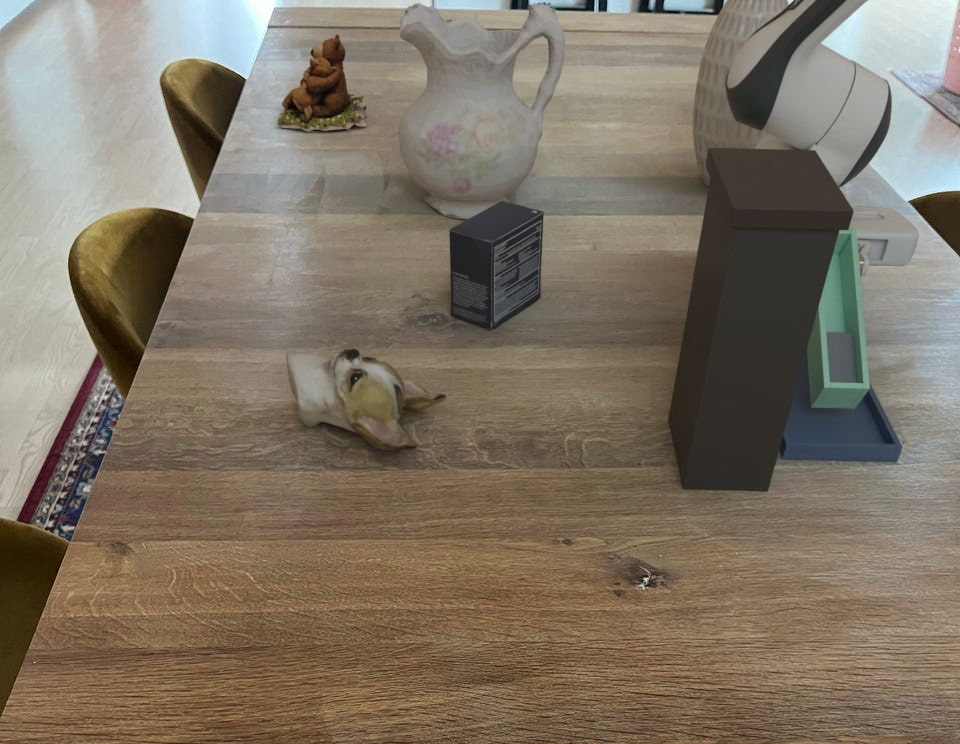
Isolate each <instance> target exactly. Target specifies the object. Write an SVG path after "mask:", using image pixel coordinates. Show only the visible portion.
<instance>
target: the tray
mask: <svg viewBox="0 0 960 744" xmlns="http://www.w3.org/2000/svg"><path fill="white" fill-rule="evenodd" d="M869 383H870V389H869V390H868V392H867V393H866V394H865V396H864V397H863V398H862V400H861V401H860V402H859V404H858V405H857V406H856V408H855V409H846V408H811V402H810V387H809V372H808V357H807V351H806V354H805V358H804V361H803V365H802V369H801V372H800V376H799V380H798V383H797V387H796V391H795V394H794V398H793V402H792V405H791V409H790V413H789V416H788V420H787V424H786V427H785V431H784V435H783V438H782V442H781V445H780V449H779V453H780V456H781V458H782V460H812V461H813V460H814V461H847V462H848V461H850V462H853V461H854V462H856V461H857V462H885V463H886V462H888V463H889V462H890V463H897V462H898V460H899V458H900V455H901V452H902V451H903V445H902V444H901V441H900V440H899V437H898V435H897V433H896V431H895V430H894V427H893V426H892V423H891V421H890V420H889V417H888V416H887V413H886V412H885V409H884V408H883V405H882V404H881V402H880V400H879V398H878V396H877V394H876V391H875V390H874V388H873V386H872V384H871V382H870V381H869Z"/></svg>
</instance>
